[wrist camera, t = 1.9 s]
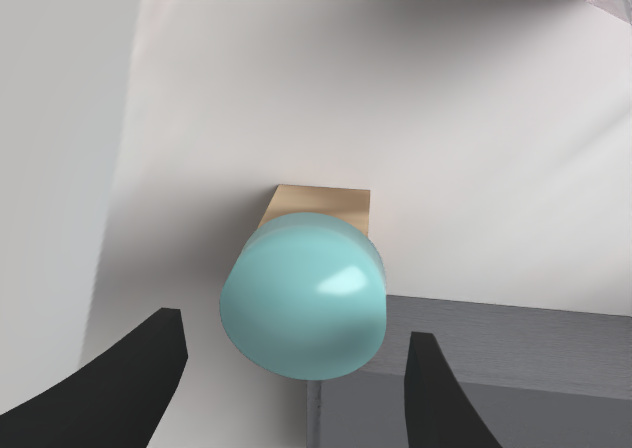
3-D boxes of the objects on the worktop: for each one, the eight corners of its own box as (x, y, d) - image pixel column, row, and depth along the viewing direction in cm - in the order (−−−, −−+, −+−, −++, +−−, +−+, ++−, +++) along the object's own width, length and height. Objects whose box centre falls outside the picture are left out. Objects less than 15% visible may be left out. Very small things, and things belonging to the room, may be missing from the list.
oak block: (370, 190, 19) (367, 236, 16) (364, 267, 21) (360, 324, 18) (279, 184, 20) (257, 228, 16) (281, 260, 22) (261, 314, 18)
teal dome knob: (392, 218, 15) (394, 255, 13) (379, 340, 18) (379, 388, 16) (234, 206, 16) (211, 241, 14) (244, 327, 19) (226, 371, 17)
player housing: (646, 318, 21) (717, 409, 16) (571, 476, 26) (608, 575, 22) (321, 289, 22) (306, 365, 18) (318, 444, 28) (306, 530, 24)
